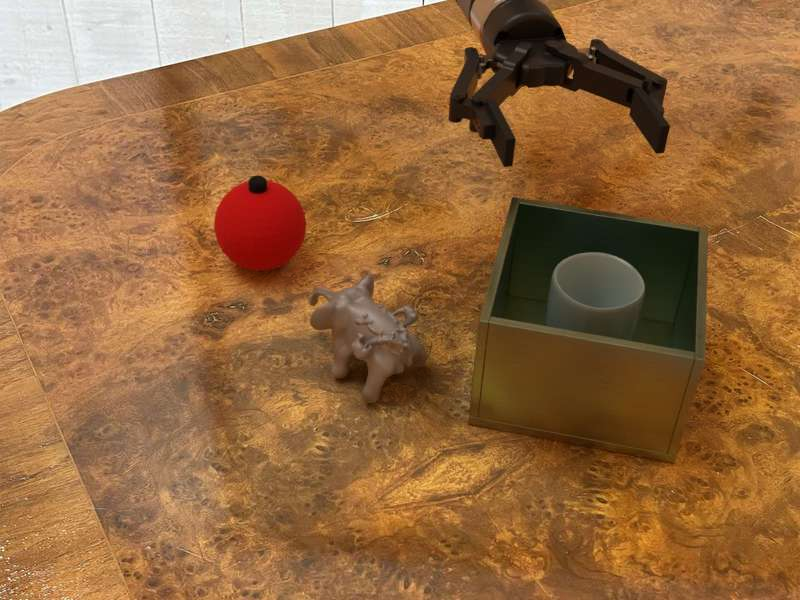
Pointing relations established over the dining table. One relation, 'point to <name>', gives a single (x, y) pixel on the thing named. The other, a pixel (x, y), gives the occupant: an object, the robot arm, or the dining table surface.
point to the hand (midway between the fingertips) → (587, 146)
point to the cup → (596, 296)
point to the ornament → (260, 224)
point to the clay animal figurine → (367, 334)
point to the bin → (592, 335)
